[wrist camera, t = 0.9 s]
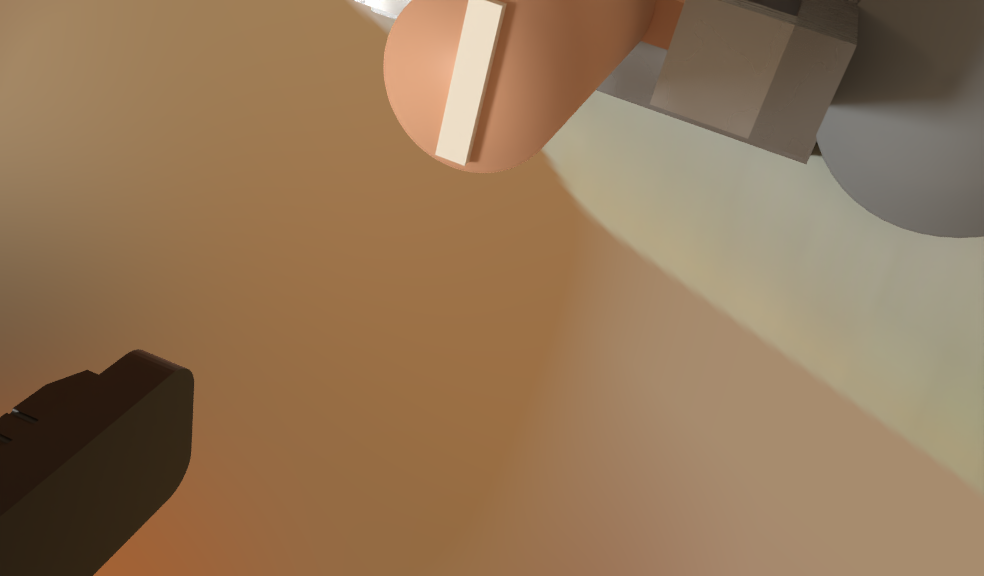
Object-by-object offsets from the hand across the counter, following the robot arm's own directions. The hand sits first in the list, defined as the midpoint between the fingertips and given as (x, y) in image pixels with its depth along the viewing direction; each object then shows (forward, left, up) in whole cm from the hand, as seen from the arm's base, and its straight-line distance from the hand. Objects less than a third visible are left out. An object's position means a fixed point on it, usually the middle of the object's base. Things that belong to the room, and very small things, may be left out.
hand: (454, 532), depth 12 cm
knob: (-1, -5, -24) cm, 24 cm away
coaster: (-1, +8, -27) cm, 28 cm away
